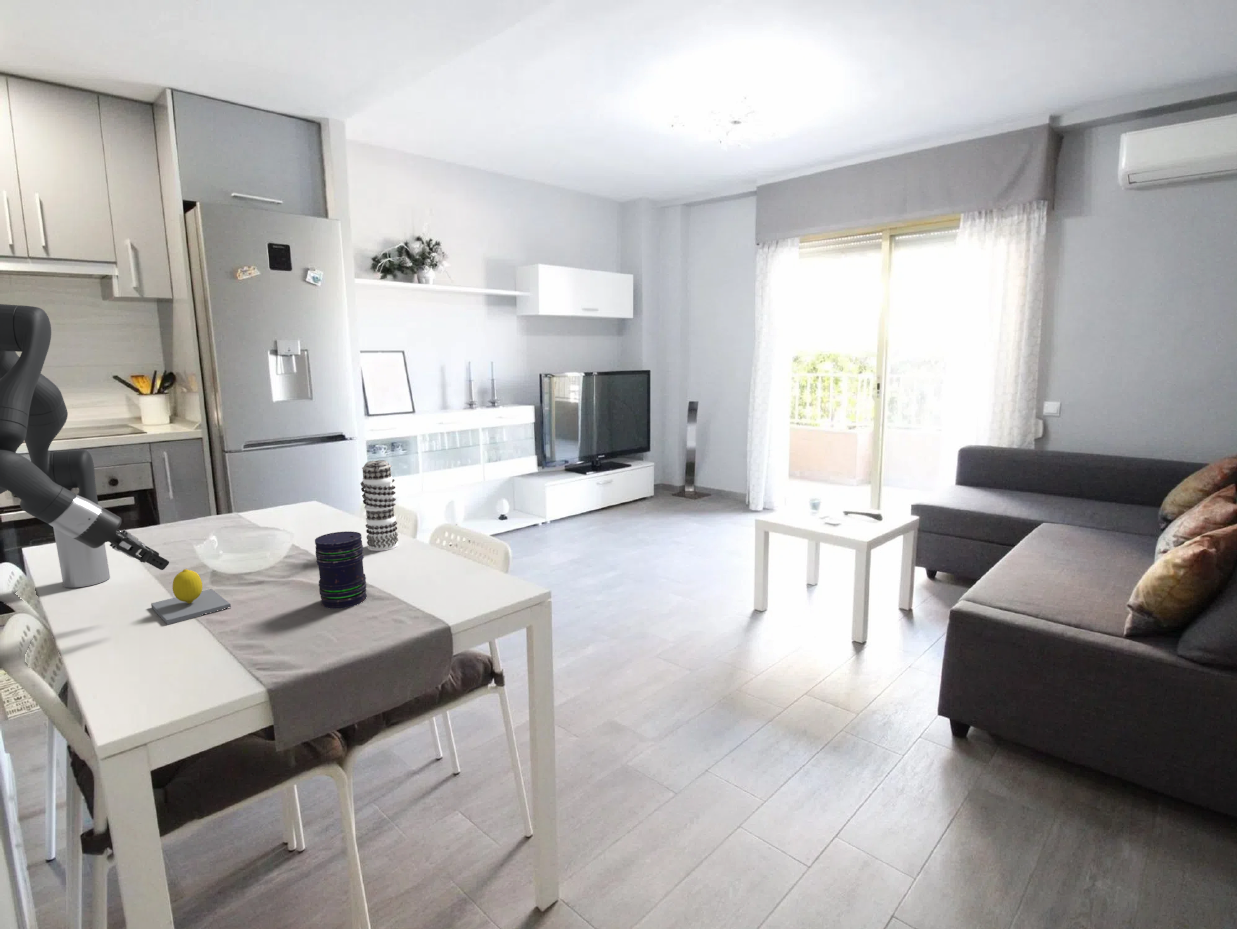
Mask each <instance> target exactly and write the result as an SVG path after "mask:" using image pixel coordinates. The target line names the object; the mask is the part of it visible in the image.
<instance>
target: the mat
mask: <svg viewBox="0 0 1237 929" xmlns="http://www.w3.org/2000/svg"><path fill="white" fill-rule="evenodd" d="M150 606H151V608H152V609H153V611H154V612H155V613H156V614H157V615H158V616H159V617H160V619H161V620H163V622H164V623H165V624H166V625H167V626H169V625H173V624H176V623H179V622H183V621H187V620H190V619H195V618H198V617H197V616H199V615H202V614H205V613H210V612H214V613H216V612H215V611H217V610H221V611H223V610H222V609H224V608H228V607H231V608H232V606H231V602H229V601H228V600H226V599H225V598H224V597H223V596H222V595H220V594H219V593H218V592H216V591H215V590H214V589H213V588H210V589H209V588H208V589H205V590H202V592H201V594H200V596H199V597H198V598H197V599H195V600H194V601H193V602H192V603H190V604H188V603H187V602H183V601H180V600H178V599H177V598H176V597H172V598H167V599H164V600H163V599H162V600H159V601H156V602H151V603H150ZM210 614H211V613H210ZM199 617H200V616H199Z"/></svg>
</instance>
